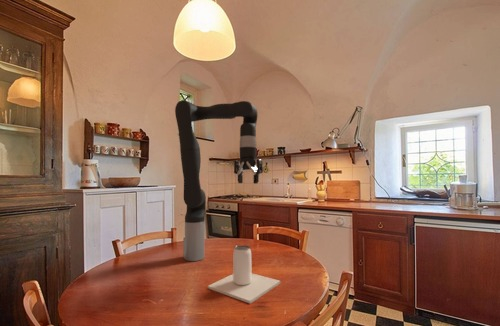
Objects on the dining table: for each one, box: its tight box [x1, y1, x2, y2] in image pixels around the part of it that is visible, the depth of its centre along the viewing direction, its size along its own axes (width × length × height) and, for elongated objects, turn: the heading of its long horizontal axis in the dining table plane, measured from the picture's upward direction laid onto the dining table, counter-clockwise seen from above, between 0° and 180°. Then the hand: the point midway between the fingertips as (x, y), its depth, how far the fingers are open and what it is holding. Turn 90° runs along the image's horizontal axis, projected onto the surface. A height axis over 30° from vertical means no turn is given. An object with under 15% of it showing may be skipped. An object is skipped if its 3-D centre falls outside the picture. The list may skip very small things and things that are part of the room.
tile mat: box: [207, 272, 281, 304], centre depth 86 cm, size 18×18×1 cm
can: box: [232, 245, 252, 286], centre depth 87 cm, size 6×6×12 cm
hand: (247, 183), depth 109 cm, fingers open, 8 cm apart
